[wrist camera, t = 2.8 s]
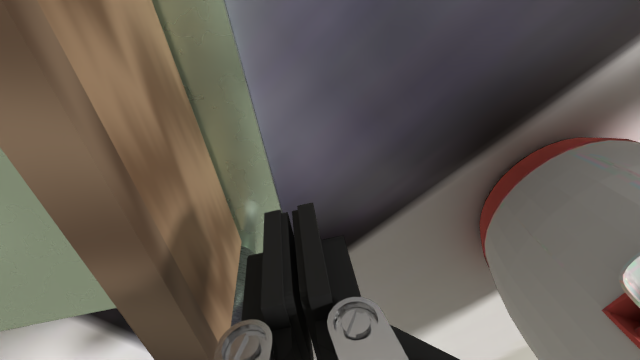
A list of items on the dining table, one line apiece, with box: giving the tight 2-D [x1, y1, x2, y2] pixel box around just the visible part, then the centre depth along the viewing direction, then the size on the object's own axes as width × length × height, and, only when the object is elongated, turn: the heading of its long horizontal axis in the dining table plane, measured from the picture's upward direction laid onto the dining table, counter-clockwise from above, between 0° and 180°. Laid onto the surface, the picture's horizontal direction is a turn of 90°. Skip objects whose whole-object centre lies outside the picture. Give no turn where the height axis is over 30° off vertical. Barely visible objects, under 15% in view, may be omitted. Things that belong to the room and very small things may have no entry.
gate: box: [0, 0, 242, 360], centre depth 14 cm, size 20×2×10 cm, turn 9°
